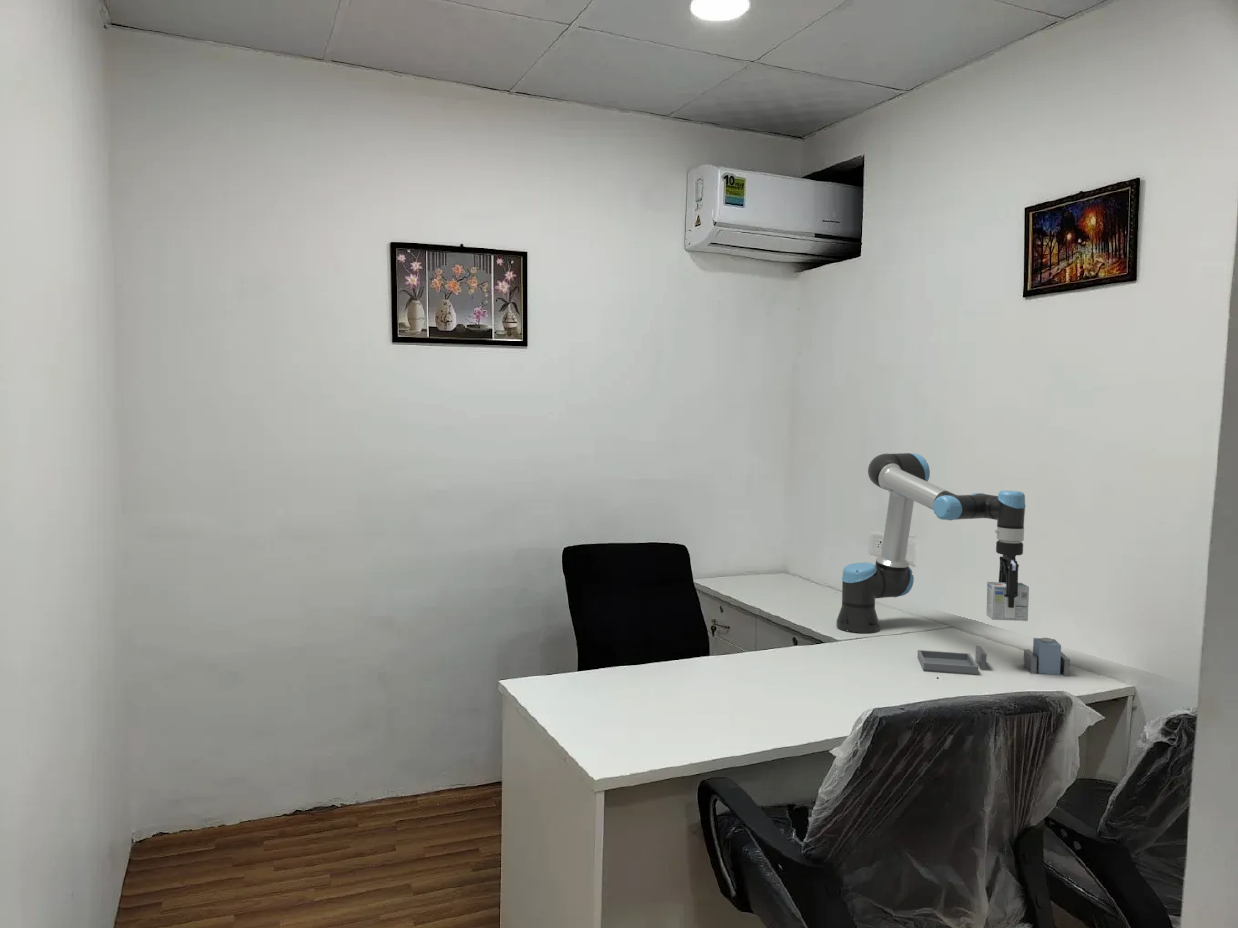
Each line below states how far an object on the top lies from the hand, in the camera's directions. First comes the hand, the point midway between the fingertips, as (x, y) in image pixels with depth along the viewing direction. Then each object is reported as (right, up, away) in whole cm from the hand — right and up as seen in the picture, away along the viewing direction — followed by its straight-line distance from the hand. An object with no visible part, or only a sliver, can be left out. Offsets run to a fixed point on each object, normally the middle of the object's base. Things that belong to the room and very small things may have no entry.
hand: (1006, 614), depth 260 cm
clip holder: (+4, -17, 0) cm, 17 cm away
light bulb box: (0, -1, 0) cm, 1 cm away
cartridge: (+11, -17, -2) cm, 20 cm away
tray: (-18, -16, +2) cm, 24 cm away
